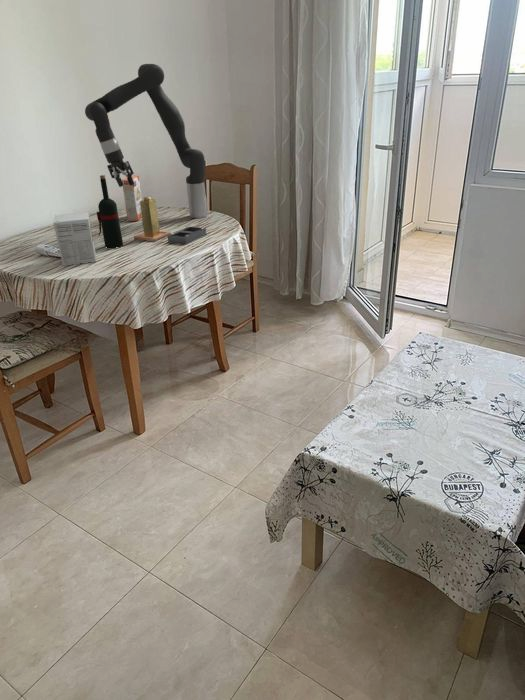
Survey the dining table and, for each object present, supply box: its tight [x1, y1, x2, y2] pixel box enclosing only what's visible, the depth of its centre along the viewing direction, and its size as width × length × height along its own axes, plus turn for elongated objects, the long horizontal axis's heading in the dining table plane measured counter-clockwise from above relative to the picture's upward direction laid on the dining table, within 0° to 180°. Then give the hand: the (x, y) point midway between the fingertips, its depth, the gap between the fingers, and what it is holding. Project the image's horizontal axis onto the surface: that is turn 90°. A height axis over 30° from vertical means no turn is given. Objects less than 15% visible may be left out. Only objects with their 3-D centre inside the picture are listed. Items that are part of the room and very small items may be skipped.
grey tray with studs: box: [167, 226, 207, 245], centre depth 237 cm, size 17×10×3 cm, turn 155°
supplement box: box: [53, 211, 97, 266], centre depth 211 cm, size 13×13×18 cm
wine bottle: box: [96, 174, 124, 249], centre depth 224 cm, size 8×10×30 cm
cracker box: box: [121, 174, 143, 222], centre depth 271 cm, size 14×6×21 cm, turn 179°
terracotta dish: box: [133, 230, 172, 243], centre depth 241 cm, size 12×12×1 cm
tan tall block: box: [140, 196, 161, 237], centre depth 237 cm, size 5×5×17 cm
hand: (126, 185), depth 240 cm, fingers open, 8 cm apart
